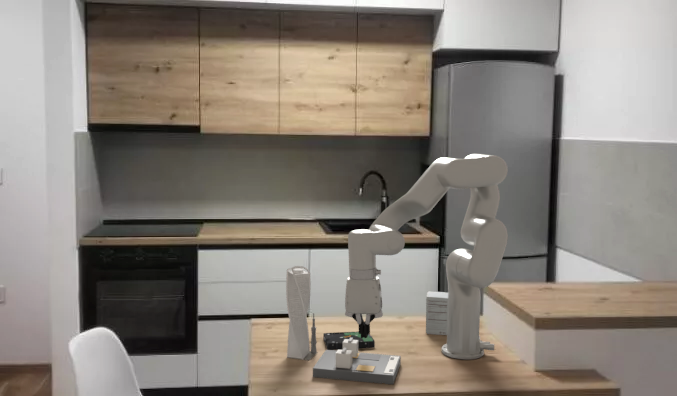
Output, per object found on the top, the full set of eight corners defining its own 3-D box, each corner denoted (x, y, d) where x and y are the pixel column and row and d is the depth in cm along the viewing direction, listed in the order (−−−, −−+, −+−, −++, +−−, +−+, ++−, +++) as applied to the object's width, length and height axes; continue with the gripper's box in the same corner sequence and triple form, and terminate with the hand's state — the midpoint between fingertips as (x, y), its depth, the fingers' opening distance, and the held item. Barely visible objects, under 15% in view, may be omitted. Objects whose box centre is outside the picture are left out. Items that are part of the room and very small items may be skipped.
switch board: (400, 364, 187) (400, 355, 187) (393, 384, 172) (393, 374, 172) (325, 357, 192) (325, 349, 191) (312, 377, 177) (312, 367, 177)
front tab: (352, 364, 179) (352, 348, 178) (350, 368, 176) (350, 352, 176) (338, 363, 180) (338, 347, 179) (335, 367, 177) (335, 350, 176)
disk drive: (327, 352, 198) (375, 349, 201) (327, 343, 198) (375, 340, 200) (322, 341, 208) (368, 338, 211) (322, 332, 208) (368, 330, 211)
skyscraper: (307, 363, 188) (307, 268, 185) (281, 359, 191) (281, 265, 188) (317, 353, 196) (317, 262, 193) (292, 350, 199) (292, 260, 196)
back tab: (358, 353, 188) (358, 338, 187) (356, 357, 185) (356, 341, 184) (344, 352, 189) (344, 337, 188) (342, 355, 186) (342, 340, 185)
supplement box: (426, 327, 221) (427, 290, 220) (448, 328, 220) (449, 292, 219) (425, 334, 214) (425, 296, 213) (447, 335, 213) (448, 297, 211)
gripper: (390, 270, 185) (392, 333, 188) (339, 269, 189) (341, 331, 191) (386, 277, 178) (388, 342, 180) (333, 276, 181) (336, 339, 184)
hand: (364, 336), depth 186 cm, fingers closed
